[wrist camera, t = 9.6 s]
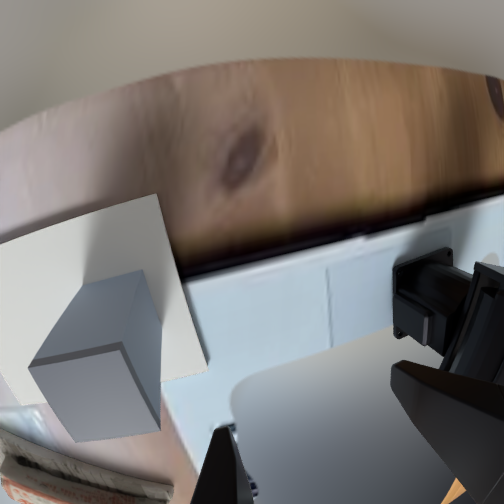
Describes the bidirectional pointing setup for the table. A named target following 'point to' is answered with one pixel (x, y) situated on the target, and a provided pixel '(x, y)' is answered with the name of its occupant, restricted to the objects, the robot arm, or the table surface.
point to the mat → (84, 272)
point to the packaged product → (68, 478)
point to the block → (104, 361)
